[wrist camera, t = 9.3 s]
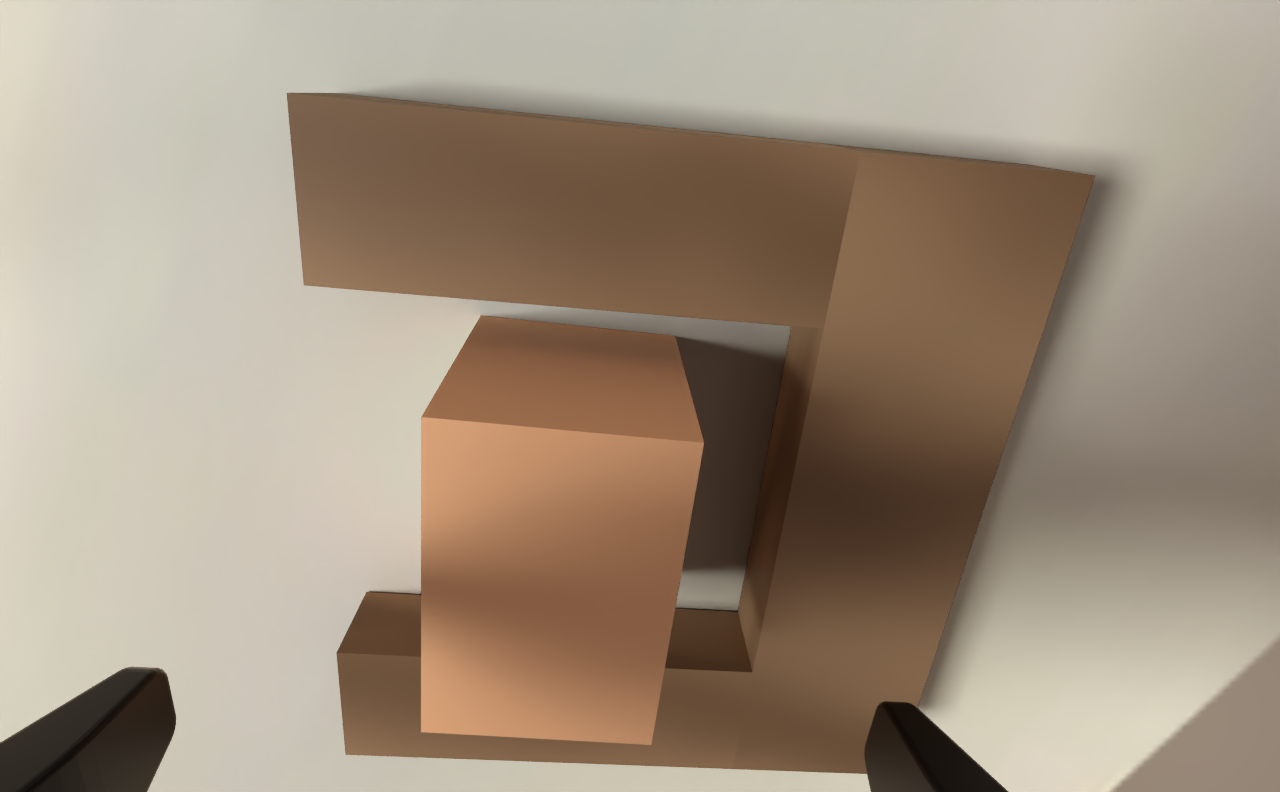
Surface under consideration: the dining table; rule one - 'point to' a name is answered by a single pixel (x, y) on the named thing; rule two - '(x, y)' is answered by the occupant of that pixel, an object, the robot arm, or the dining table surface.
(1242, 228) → the dining table surface
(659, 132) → the notched board
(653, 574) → the block
